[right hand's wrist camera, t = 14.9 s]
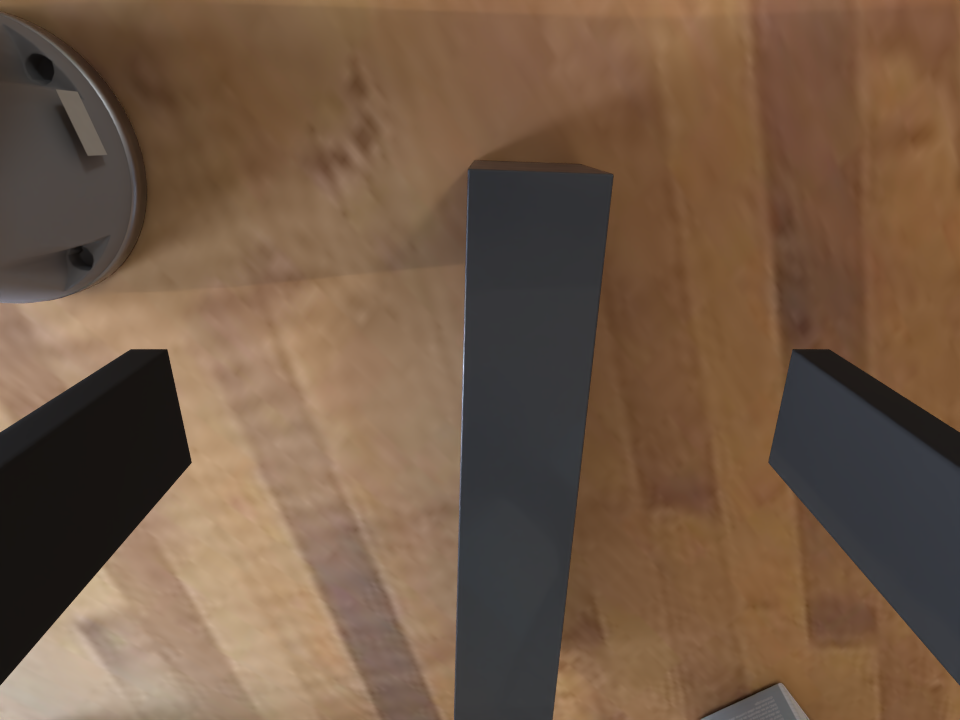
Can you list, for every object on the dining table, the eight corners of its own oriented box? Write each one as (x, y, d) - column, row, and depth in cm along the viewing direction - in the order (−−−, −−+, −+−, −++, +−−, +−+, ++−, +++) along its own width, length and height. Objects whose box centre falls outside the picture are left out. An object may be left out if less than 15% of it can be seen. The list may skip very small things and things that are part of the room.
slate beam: (459, 647, 45) (452, 764, 37) (473, 160, 32) (468, 168, 24) (536, 650, 45) (547, 768, 37) (581, 164, 32) (614, 174, 24)
